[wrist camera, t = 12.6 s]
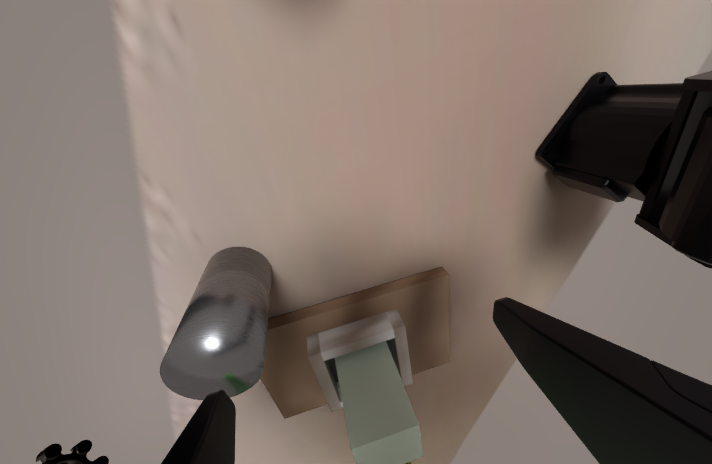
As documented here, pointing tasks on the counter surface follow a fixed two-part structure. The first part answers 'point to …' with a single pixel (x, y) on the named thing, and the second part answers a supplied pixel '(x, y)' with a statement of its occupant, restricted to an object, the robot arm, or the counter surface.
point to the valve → (69, 455)
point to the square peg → (377, 408)
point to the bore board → (356, 338)
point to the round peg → (222, 328)
